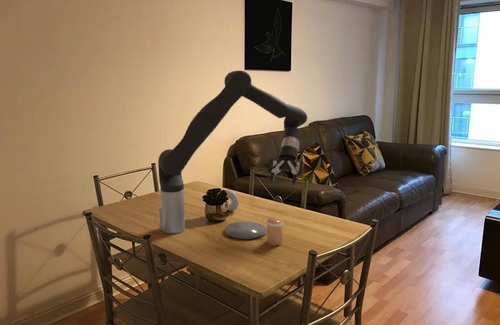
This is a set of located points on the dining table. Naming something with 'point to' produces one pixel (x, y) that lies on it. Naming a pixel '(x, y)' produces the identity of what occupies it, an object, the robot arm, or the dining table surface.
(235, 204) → the donut
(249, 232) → the dish
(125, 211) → the dining table surface
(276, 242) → the pink cylinder
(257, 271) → the dining table surface
